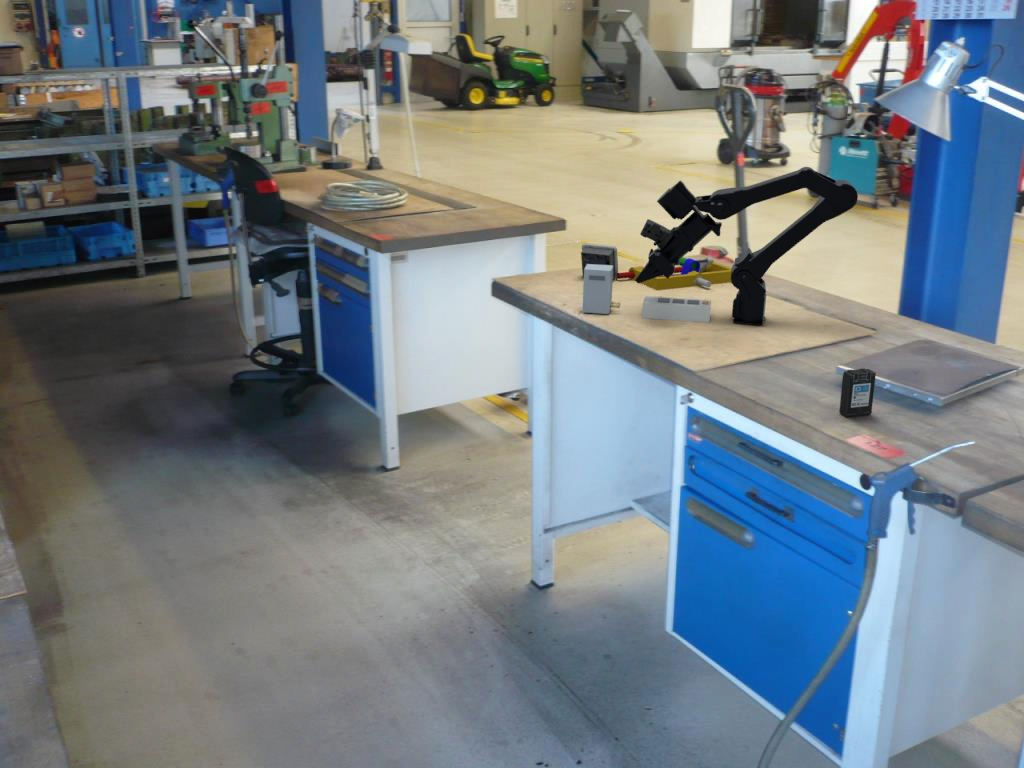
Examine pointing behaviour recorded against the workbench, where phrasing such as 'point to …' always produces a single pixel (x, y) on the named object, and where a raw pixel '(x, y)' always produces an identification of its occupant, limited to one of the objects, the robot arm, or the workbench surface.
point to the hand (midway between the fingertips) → (636, 281)
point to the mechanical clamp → (686, 275)
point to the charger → (598, 289)
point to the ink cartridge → (857, 393)
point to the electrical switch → (599, 256)
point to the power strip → (676, 309)
